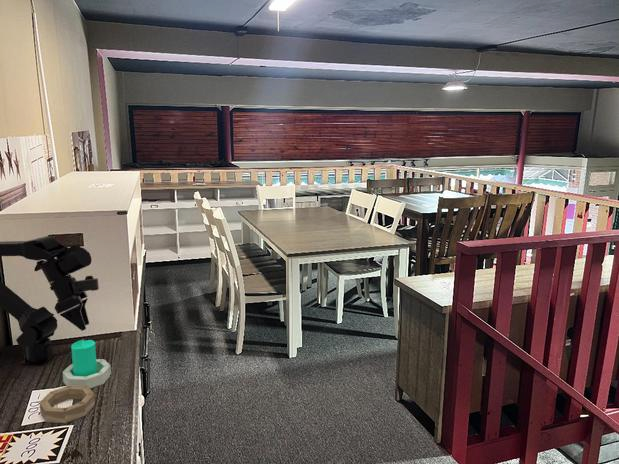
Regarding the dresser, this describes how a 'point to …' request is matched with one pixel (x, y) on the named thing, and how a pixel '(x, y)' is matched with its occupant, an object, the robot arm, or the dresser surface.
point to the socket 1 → (89, 380)
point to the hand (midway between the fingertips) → (85, 327)
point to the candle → (84, 358)
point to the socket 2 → (67, 413)
